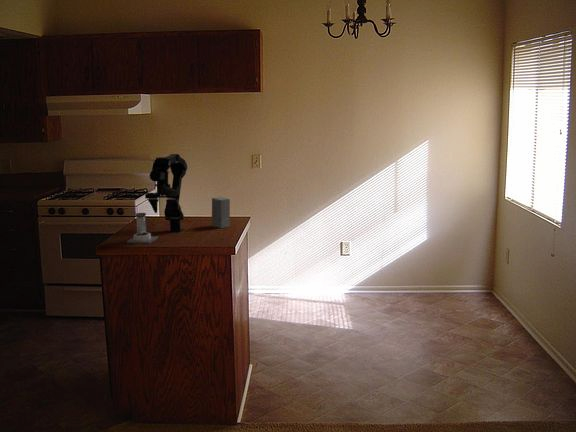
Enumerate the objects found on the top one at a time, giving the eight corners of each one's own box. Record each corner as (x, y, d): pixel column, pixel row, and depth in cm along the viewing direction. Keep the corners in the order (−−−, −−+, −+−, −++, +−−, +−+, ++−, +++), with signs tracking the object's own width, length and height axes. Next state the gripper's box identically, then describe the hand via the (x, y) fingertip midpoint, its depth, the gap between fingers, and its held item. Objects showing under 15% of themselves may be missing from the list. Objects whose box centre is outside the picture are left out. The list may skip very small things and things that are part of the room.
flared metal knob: (146, 237, 323) (144, 212, 321) (148, 239, 319) (146, 214, 316) (136, 238, 321) (134, 213, 319) (138, 240, 317) (136, 215, 314)
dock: (136, 237, 327) (135, 231, 326) (158, 238, 324) (157, 232, 324) (126, 242, 316) (126, 236, 315) (149, 243, 314) (148, 237, 313)
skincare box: (211, 226, 347) (209, 198, 344) (221, 224, 352) (220, 196, 349) (221, 228, 341) (219, 199, 338) (231, 226, 346) (230, 197, 343)
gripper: (160, 181, 308) (160, 213, 308) (187, 182, 323) (187, 212, 323) (144, 181, 314) (144, 213, 314) (171, 182, 329) (171, 212, 330)
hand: (162, 213), depth 320 cm, fingers open, 9 cm apart
